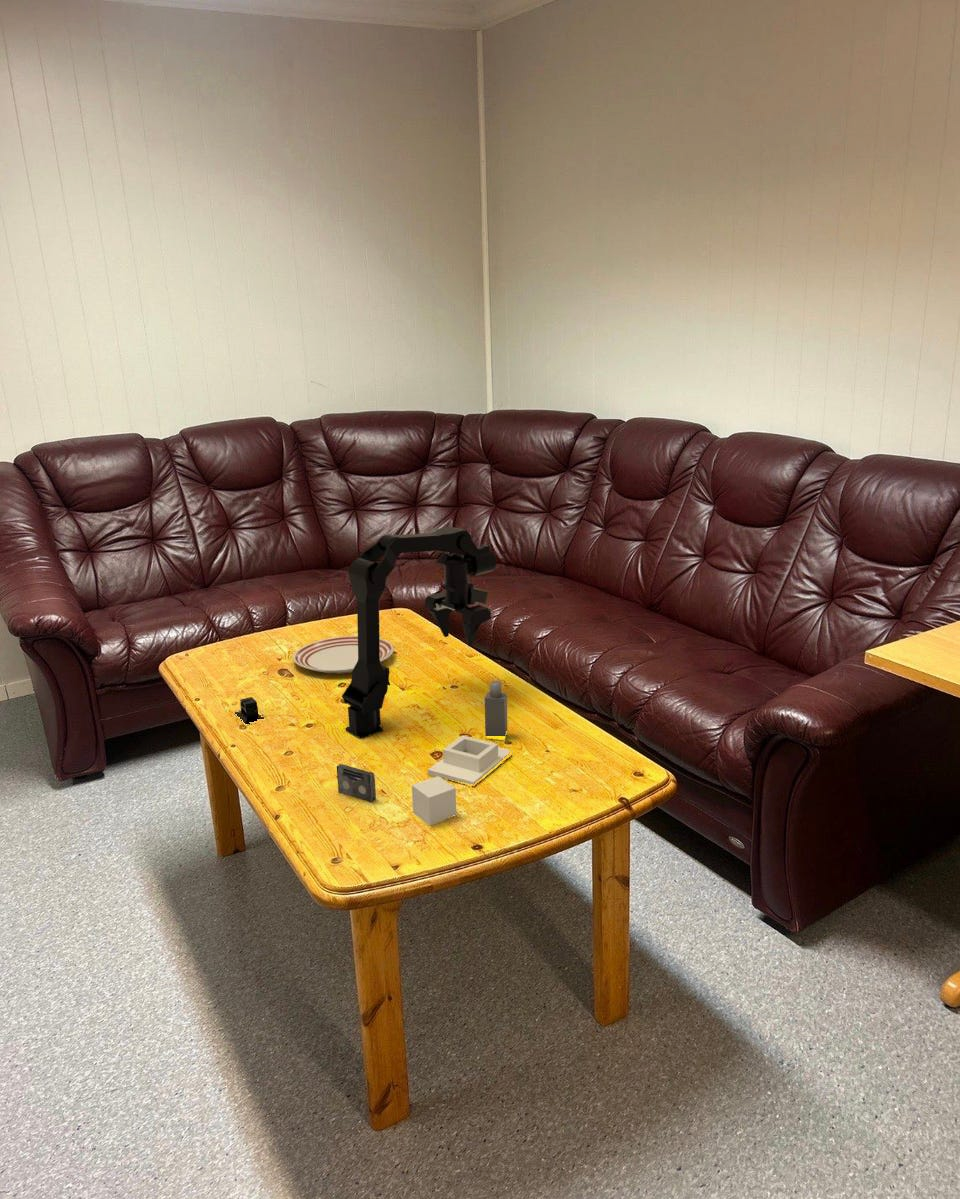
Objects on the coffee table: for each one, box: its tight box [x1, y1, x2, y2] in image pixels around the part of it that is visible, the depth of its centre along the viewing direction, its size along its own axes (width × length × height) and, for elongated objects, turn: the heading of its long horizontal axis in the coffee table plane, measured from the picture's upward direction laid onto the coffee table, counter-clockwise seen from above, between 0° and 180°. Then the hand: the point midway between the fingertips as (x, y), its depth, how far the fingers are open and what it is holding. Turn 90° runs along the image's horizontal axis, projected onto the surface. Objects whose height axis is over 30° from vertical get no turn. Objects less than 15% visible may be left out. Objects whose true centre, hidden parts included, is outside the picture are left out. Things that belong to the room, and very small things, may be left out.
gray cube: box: [411, 776, 457, 826], centre depth 176 cm, size 6×6×6 cm
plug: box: [484, 680, 508, 737], centre depth 207 cm, size 4×3×13 cm
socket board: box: [427, 735, 512, 785], centre depth 195 cm, size 11×16×4 cm
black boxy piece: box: [234, 696, 265, 724], centre depth 221 cm, size 12×7×5 cm, turn 32°
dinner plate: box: [292, 635, 395, 674], centre depth 255 cm, size 28×27×3 cm
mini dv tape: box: [336, 763, 377, 803], centre depth 183 cm, size 8×2×6 cm, turn 59°
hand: (458, 641), depth 226 cm, fingers open, 9 cm apart
